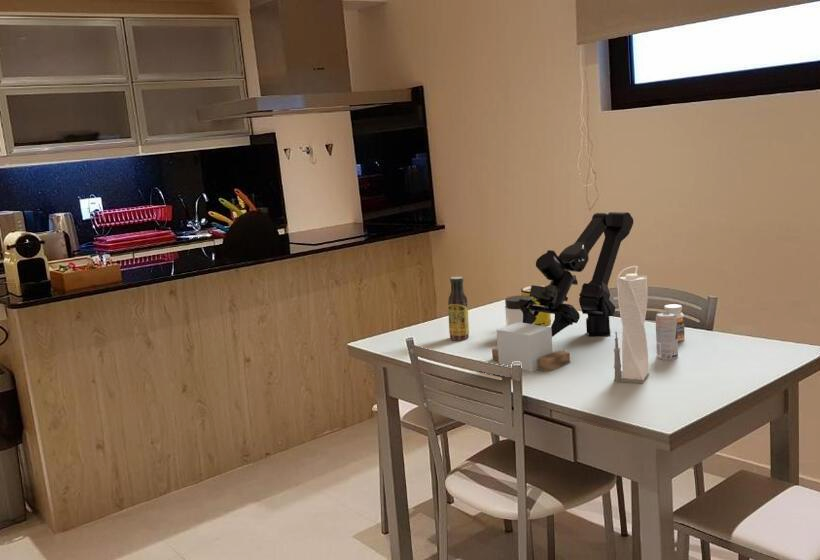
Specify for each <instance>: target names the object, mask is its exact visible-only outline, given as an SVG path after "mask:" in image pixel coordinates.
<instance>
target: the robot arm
mask: <svg viewBox="0 0 820 560" xmlns="http://www.w3.org/2000/svg"><path fill="white" fill-rule="evenodd" d="M591 217H592V218H591V220H590V221H589V222H588V224H587V226H586V227H585V228H584V230H583V231H582V233H581V234H580V235H579V236H578V238H577V239H576V240H575V242H574V243H572V244H570V245H568V246H567V247H565V248H564V249H563V250H562V251H561V252H560V253H559V255H557V252H556V251H555V250H552V249H551V250H549V249H548V250H547V251H546V253H543V254H541V255H540V256H539V257H538V258H537V259H536V261H535V268H537V270H538V271H539V272H540V273H541V274H542V275H543V276H544V277H545V278H546V280H548V281H550V282H549V284H547V285H544V286H545V287H542V286H543V285H533V284H532V285H530V286H531V290H530V294H529V296H530V297H535V298H537V299H536V301H537V302H539V303H540V305H536V304H535V302H534V301H533V300H532V299H525V298H522V299H520V300H519V302H518V304H517V306H518V307H519V309H520V310H521V311H522V313H523V323H527V324H533V323H534V322H535V320H536V319H537V318H536V317H535V316H537V315H538V314H539V312H544V313H551V314H552V315H554V319H553V322H552V323H551V325H550V327H551V330H552V338H553V337H554V336H556V335H557V334H558V333H561V331H562V330H564V329H566V328H567V327H569V326H572V325H573V324H578V322H579V320H580V312H579V311H578V310H577V309H576V308H575V307H574V305H572V304H569V303H564V302H568V300H569V297H568V296H567V295H568V293H569V291H570V289H571V288H572V285H576V286H578V284H579V283H578V279H577V276H576V275H575V274H572V273H571V272H574V273H575V272H576V273H582V272H583V270H584V269H585V268H586V266H587V263H588V262H589V254H590V251H591V250H593V249H592V248H594V246H595V244H596V243H597V242H598V240H599V239H600V237H602V234H604V239H603V242H602V246H601V249H600V252H599V256H598V258H597V262H596V265H595V268H594V271H593V274H592V278H591V280H590V281H589V282H587V283H586V282H585V283H583V284H582V286H581V290H580V292H579V294H578V295H579V297H578V303H579V306H580V310H581V312H582V315H587V317H586V319H585V321H586V322H585V325H586V333H587V334H588V335H587V336H588V337H601V336H603V337H605V336H607V337H608V336H611V325H610V321H611V320H610V317H612V316H613V315H614V314H615V313H616V306H615V305H614V303H613V302H612V301H611V300H610V297H611V293H610V289H609V286H608V285H609V282H610V279H611V276H612V272H613V269H614V266H615V262H616V259H617V256H618V253H619V250H620V246H621V243H622V242H623V240H625V239H626V238H627V237H628V236H629V235H630V232H631V230H632V228H633V226H634V218H633V216H632V215H631V213H629V212H622V211H621V212H620V211H615V212H614V211H610V212H596V213H594V214H593V215H592V216H591Z"/></svg>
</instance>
